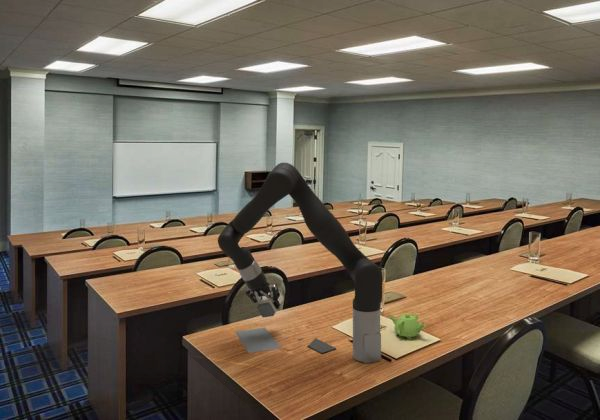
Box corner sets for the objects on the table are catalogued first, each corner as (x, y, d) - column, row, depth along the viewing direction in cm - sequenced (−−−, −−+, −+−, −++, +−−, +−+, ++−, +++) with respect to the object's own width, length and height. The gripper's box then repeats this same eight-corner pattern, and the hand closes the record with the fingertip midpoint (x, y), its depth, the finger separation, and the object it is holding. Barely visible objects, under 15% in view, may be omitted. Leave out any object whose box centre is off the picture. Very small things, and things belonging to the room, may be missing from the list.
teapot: (395, 341, 174) (395, 319, 173) (389, 330, 185) (389, 309, 185) (426, 341, 174) (426, 318, 173) (417, 329, 186) (417, 308, 185)
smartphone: (322, 353, 164) (296, 339, 176) (322, 355, 164) (296, 342, 176) (337, 348, 168) (311, 335, 180) (337, 350, 168) (311, 337, 180)
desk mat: (281, 349, 169) (281, 347, 169) (248, 354, 165) (248, 353, 165) (264, 328, 189) (264, 327, 189) (235, 333, 185) (235, 331, 185)
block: (277, 288, 181) (267, 306, 173) (283, 298, 183) (273, 316, 175) (267, 289, 184) (256, 307, 176) (273, 299, 186) (262, 317, 178)
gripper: (232, 282, 174) (253, 317, 181) (263, 277, 167) (284, 313, 173) (241, 269, 180) (261, 303, 186) (271, 264, 173) (291, 299, 179)
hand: (272, 308), depth 180 cm, fingers closed on block, 5 cm apart
